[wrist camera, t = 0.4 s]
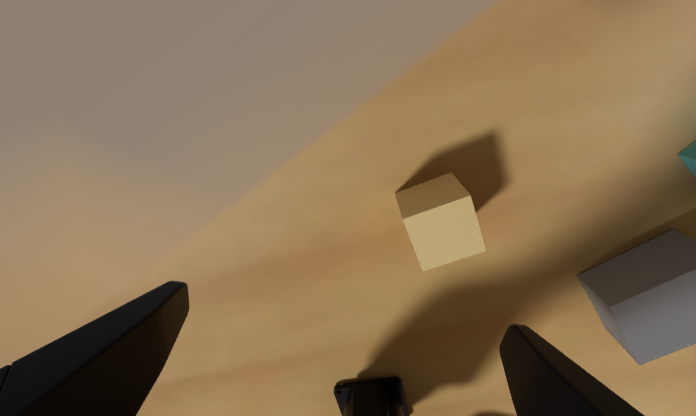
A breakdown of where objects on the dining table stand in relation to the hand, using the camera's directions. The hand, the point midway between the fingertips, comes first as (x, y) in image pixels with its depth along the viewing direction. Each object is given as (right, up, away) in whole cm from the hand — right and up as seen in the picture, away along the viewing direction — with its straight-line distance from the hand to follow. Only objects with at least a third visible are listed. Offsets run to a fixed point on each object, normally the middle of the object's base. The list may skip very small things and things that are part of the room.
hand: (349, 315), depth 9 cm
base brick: (+23, -3, +16) cm, 28 cm away
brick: (+6, +3, +14) cm, 15 cm away
